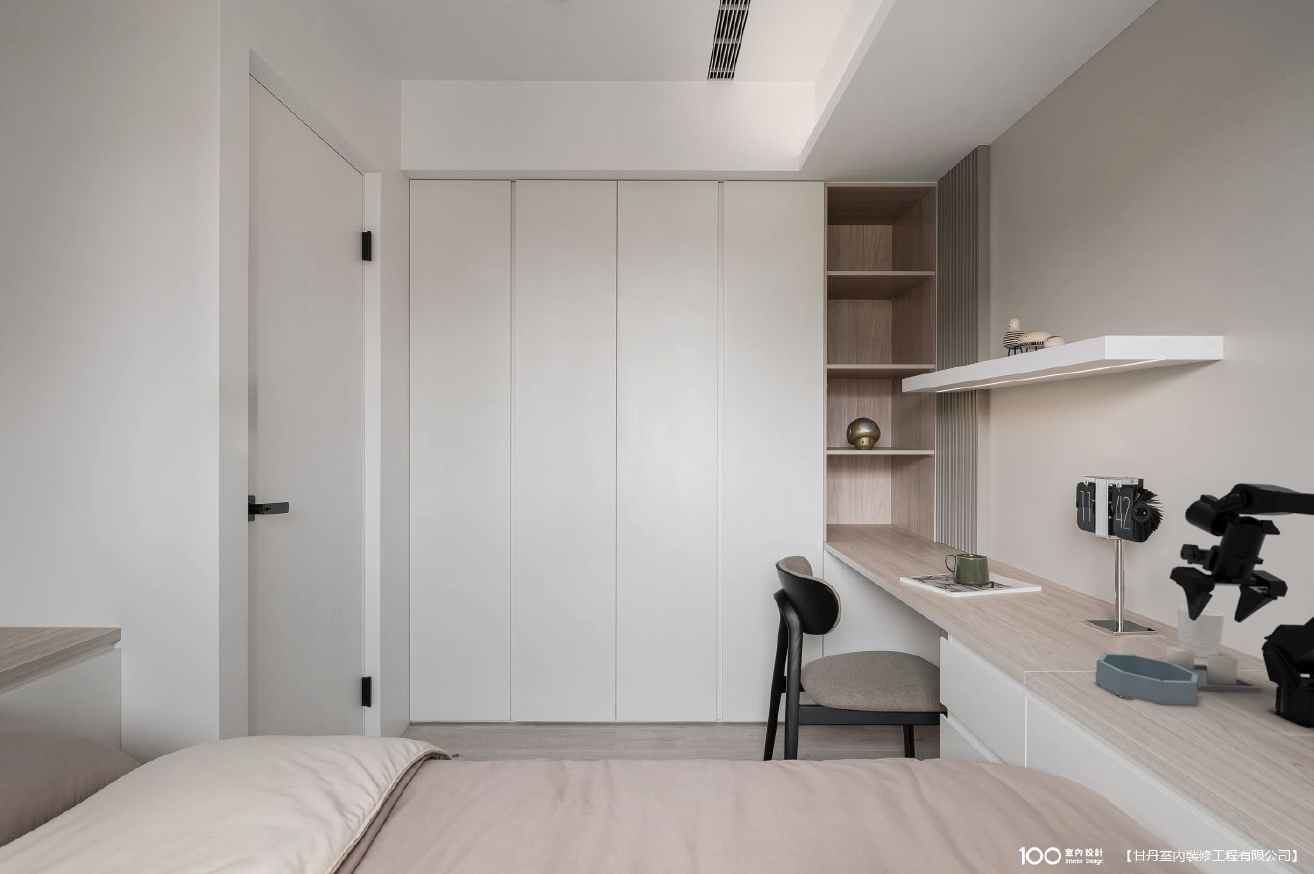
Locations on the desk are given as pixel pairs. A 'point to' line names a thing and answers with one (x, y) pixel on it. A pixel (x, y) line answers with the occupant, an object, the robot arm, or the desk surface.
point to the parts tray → (1204, 686)
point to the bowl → (1147, 679)
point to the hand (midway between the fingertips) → (1214, 620)
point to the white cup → (1200, 631)
